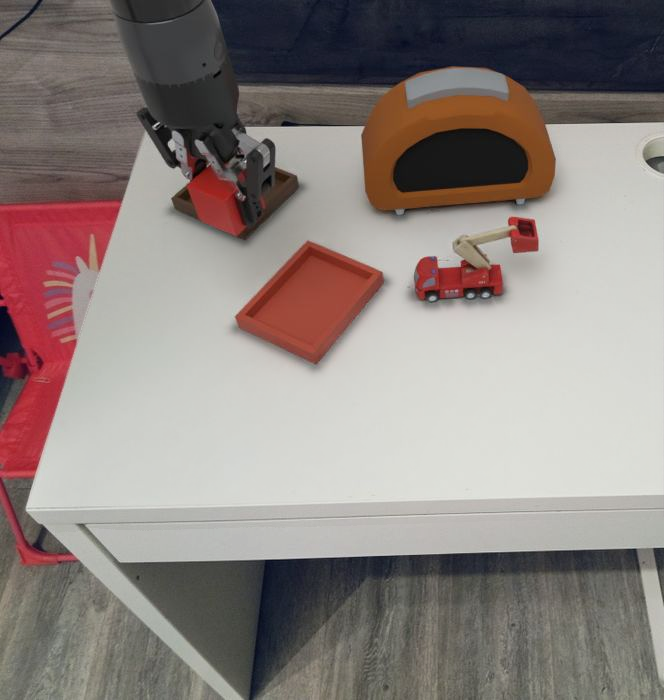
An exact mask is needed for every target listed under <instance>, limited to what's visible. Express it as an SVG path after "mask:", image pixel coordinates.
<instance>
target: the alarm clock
mask: <svg viewBox="0 0 664 700" xmlns="http://www.w3.org/2000/svg"><path fill="white" fill-rule="evenodd" d="M360 137H361V148H362V149H361V150H362V163H363V165H362V167H363V178H364V191H365V192H364V193H365V194H366V197H367V199H368V201H369V204H370V206H371V207H373V208H376V209H378V210H380V211H393V210H394V212H395V213H396V215H397V216H400V215H404V213H405V210H406V209H407V210H408V209H418V208H429V207H431V208H432V207H441V206H453V205H454V206H455V205H463V204H464V205H466V204H478V203H488V202H499V201H502V202H503V201H511V200H512V201H513V200H515V202H516V205H517V206H518V205H524V203H525V201H526V199H535V198H541V197H542V196H544V195H545V194H546V193H548V192H550V190H551V187H552V185H553V182H554V179H555V176H556V160H557V159H556V155H555V151H554V149H553V144H552V142H551V138H550V134H549V133H548V129H547V125H546V122H545V119H544V117H543V115H542V113H541V111H540V109H539V107H538V104H537V102H536V101H535V99H534V98H533V96H532V95H531V94H530V93H529V91H528V90H527V89H526V87H525V86H524V85H522V84H520V83H518V82H517V81H515V80H514V79H512V78H511V77H509V76H508V75H505V74H503V73H500V72H498V71H495V70H492V69H490V68H487V67H473V66H447V67H443V68H437V69H433V70H432V69H431V70H426V71H420V72H418V73H416V74H414V75H413V76H410V77H408V78H407V79H405V80H403V81H401V82H399V83H398V84H396V85H395V86H393V87H392V88H391V89H390V90H388V91H387V92H385V93H384V94H382V96H381V97H380V99H379V100H378V101H377V102H376V104H375V105H374V107H373V108H372V110H371V111H370V113H369V115H368V118H367V120H366V123H365V125H364V127H363V130H362V132H361V135H360Z"/></svg>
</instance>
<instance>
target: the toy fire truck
mask: <svg viewBox="0 0 664 700" xmlns="http://www.w3.org/2000/svg"><path fill="white" fill-rule="evenodd" d="M536 224H537V223H536V219H533V218H526V217H519V216H509V217H508V219H507V225H508V226H505V227H502V228H496V229H493V230H488V231H485V232H479V233H477V234H471V235H469V236H468V235H467V234H462V235H460V236H459V237H458V238H456V239H454V240H453V241H452V251H453V253H454V254H456V255H458V256H459V257H461V258H462V259H461V260H460V266H450V267H449V266H448V267H439V263H438V256H436V255H432V256H430V255H429V256H424V257H422V258H420V259H419V261H418V262H417V264H416V266H415V269H414V272H413V281H414V282H413V283H414V288H415V289H414V290H415V294H416V297H417V298H418V300H425V299H426V300H427V302H429V303H435V302H437V301H438V300H439V299H451V298H452V299H453V298H462V297H465V298H466V299H467V300H474V299H475V298H477V296H478V294H479V297H480V298H481V299H485V300H486V299H490V298H491V297H492V295H494V296H499V295H502V294H503V286H504V280H503V275H502V267H501V264H499V263H498V264H490V263H491V262H492V261H491V259H490V258H488V257H489V256H487V254H486V253H484V252H483V250H482V249H481V248H480V247H479V246H480V245H482V244H486V243H492V242H496V241H499V240H503V239H507V238H510V245H511V249H512V253H513V254H521V253H535V252H539V242H540V241H539V235H538V229H537V225H536ZM478 245H479V246H478Z"/></svg>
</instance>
